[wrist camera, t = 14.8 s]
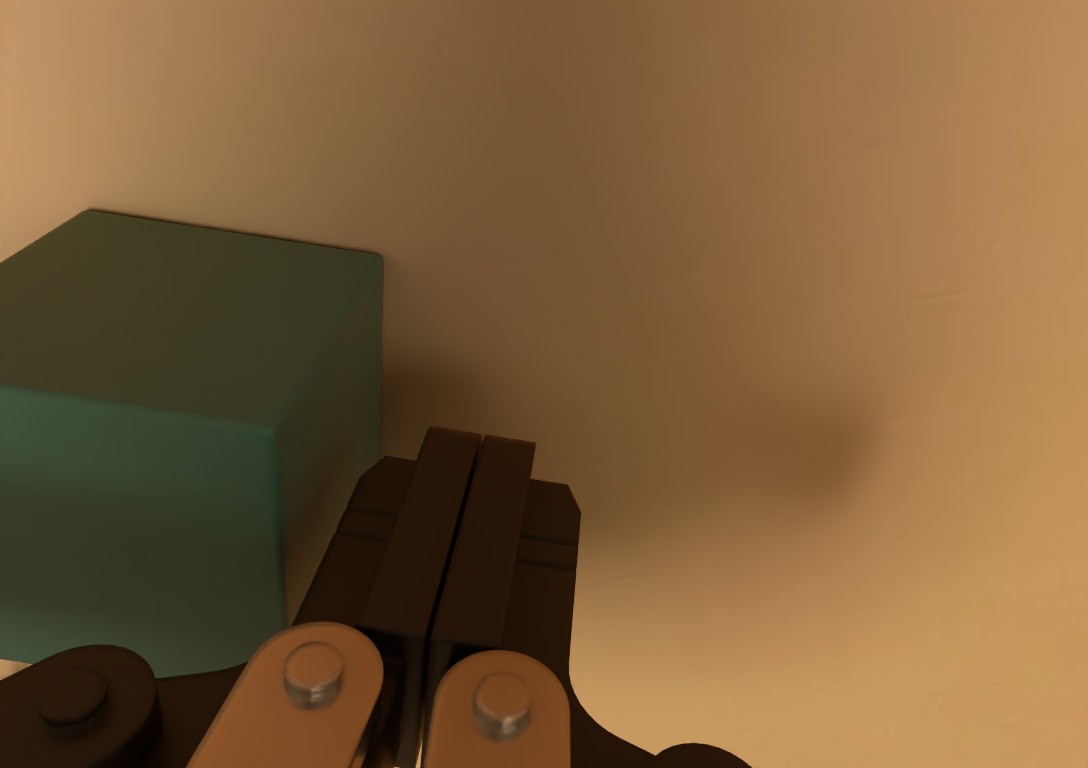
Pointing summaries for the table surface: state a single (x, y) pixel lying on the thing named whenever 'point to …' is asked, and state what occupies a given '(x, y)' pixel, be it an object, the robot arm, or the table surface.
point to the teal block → (177, 434)
